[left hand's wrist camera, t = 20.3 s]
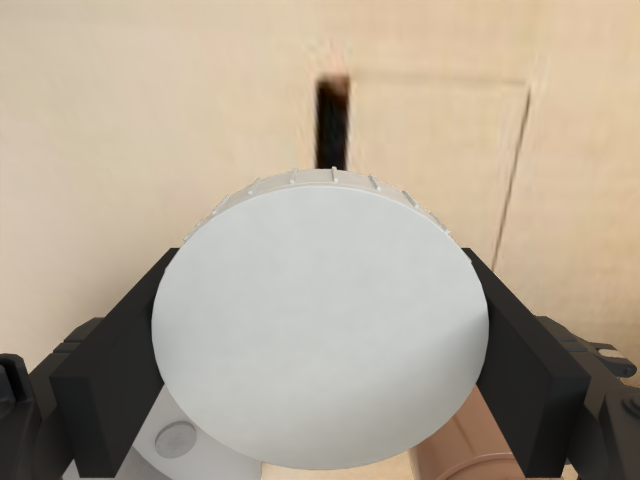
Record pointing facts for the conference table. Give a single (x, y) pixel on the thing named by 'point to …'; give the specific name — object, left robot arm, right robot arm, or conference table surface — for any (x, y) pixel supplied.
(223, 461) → the projector
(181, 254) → the lid
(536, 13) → the conference table surface
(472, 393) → the jar
